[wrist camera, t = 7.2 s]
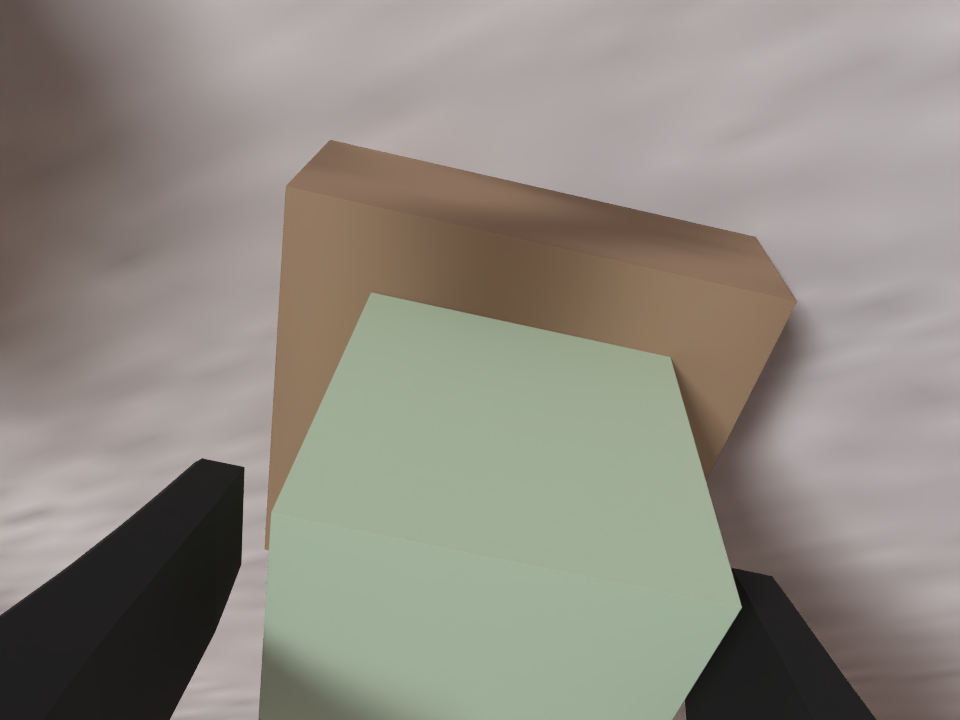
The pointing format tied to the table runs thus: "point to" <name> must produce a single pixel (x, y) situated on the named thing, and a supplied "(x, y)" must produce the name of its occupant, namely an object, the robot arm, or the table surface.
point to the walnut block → (513, 281)
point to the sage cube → (492, 532)
